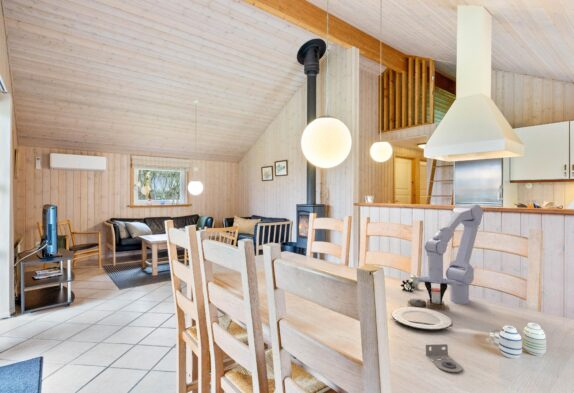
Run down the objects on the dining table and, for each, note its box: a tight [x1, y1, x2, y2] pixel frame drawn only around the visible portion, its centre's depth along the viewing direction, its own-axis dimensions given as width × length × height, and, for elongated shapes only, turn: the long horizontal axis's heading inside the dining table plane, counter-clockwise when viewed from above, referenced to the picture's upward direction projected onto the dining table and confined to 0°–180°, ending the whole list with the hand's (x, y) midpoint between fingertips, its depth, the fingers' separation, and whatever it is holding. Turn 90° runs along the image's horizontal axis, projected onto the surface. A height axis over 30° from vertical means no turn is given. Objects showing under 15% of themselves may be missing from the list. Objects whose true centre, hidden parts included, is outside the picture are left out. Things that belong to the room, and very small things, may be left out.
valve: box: [400, 274, 420, 293], centre depth 156 cm, size 7×7×12 cm
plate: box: [391, 306, 452, 331], centre depth 118 cm, size 21×21×2 cm
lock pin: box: [431, 287, 440, 305], centre depth 130 cm, size 3×3×7 cm
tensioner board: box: [407, 298, 451, 312], centre depth 131 cm, size 8×16×3 cm, turn 68°
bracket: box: [425, 343, 463, 373], centre depth 88 cm, size 7×10×4 cm, turn 2°
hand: (435, 300), depth 130 cm, fingers closed on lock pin, 3 cm apart
